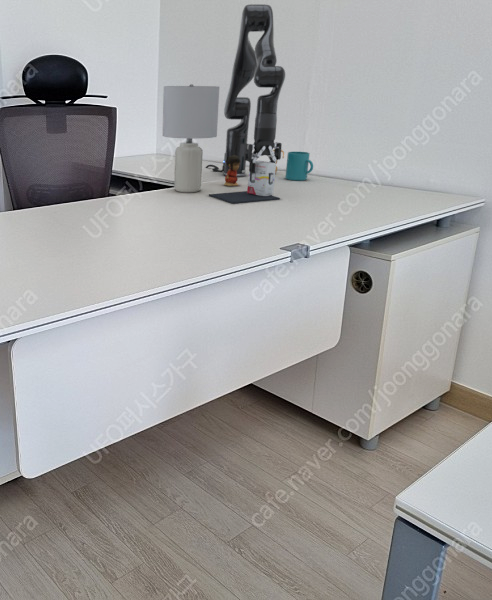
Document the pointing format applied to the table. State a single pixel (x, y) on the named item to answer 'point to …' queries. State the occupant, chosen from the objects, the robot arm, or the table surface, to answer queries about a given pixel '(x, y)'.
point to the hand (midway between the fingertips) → (261, 172)
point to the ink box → (262, 179)
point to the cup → (298, 166)
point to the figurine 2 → (276, 161)
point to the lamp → (189, 129)
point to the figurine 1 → (232, 170)
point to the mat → (242, 197)
